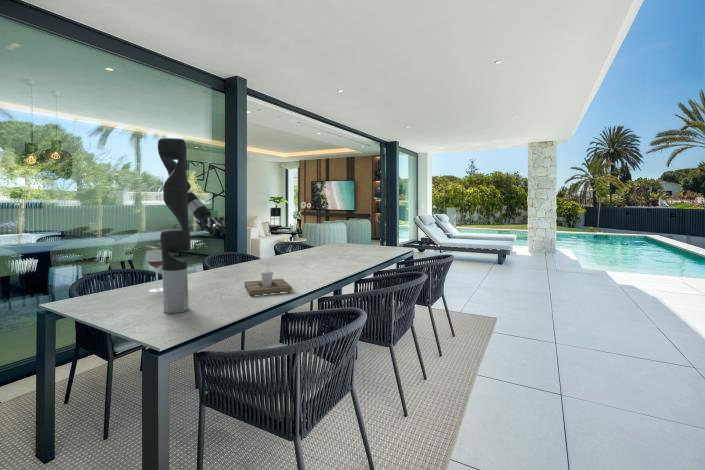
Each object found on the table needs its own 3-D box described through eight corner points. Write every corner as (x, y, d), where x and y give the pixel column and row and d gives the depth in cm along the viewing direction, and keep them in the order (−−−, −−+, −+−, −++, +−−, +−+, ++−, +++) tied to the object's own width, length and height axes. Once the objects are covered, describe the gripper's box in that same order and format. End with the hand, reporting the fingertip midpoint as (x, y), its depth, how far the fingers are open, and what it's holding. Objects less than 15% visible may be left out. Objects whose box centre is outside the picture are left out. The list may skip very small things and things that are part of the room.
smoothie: (270, 291, 178) (270, 264, 176) (258, 291, 179) (258, 263, 178) (275, 288, 184) (275, 262, 183) (263, 288, 185) (263, 261, 184)
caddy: (291, 292, 177) (291, 286, 176) (250, 296, 168) (250, 290, 168) (282, 284, 195) (282, 278, 195) (244, 287, 187) (244, 281, 186)
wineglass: (170, 288, 183) (168, 249, 181) (159, 292, 174) (157, 252, 172) (155, 287, 184) (154, 249, 182) (144, 291, 175) (142, 251, 173)
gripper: (193, 205, 173) (214, 229, 171) (212, 205, 186) (232, 227, 184) (184, 215, 174) (205, 240, 172) (204, 215, 188) (223, 237, 186)
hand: (219, 233), depth 178 cm, fingers open, 8 cm apart
